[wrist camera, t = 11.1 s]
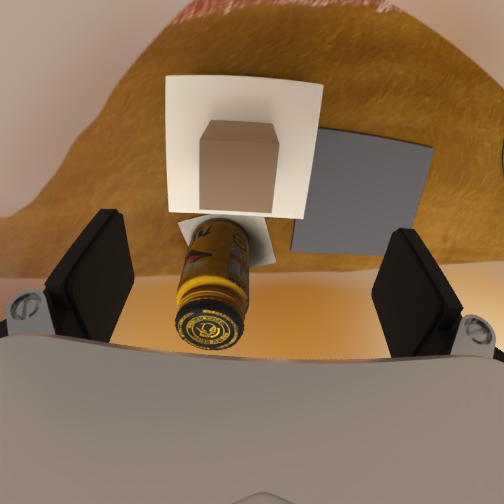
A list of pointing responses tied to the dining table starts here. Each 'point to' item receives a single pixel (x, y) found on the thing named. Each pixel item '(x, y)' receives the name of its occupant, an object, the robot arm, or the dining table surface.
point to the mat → (360, 193)
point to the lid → (240, 144)
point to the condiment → (219, 277)
